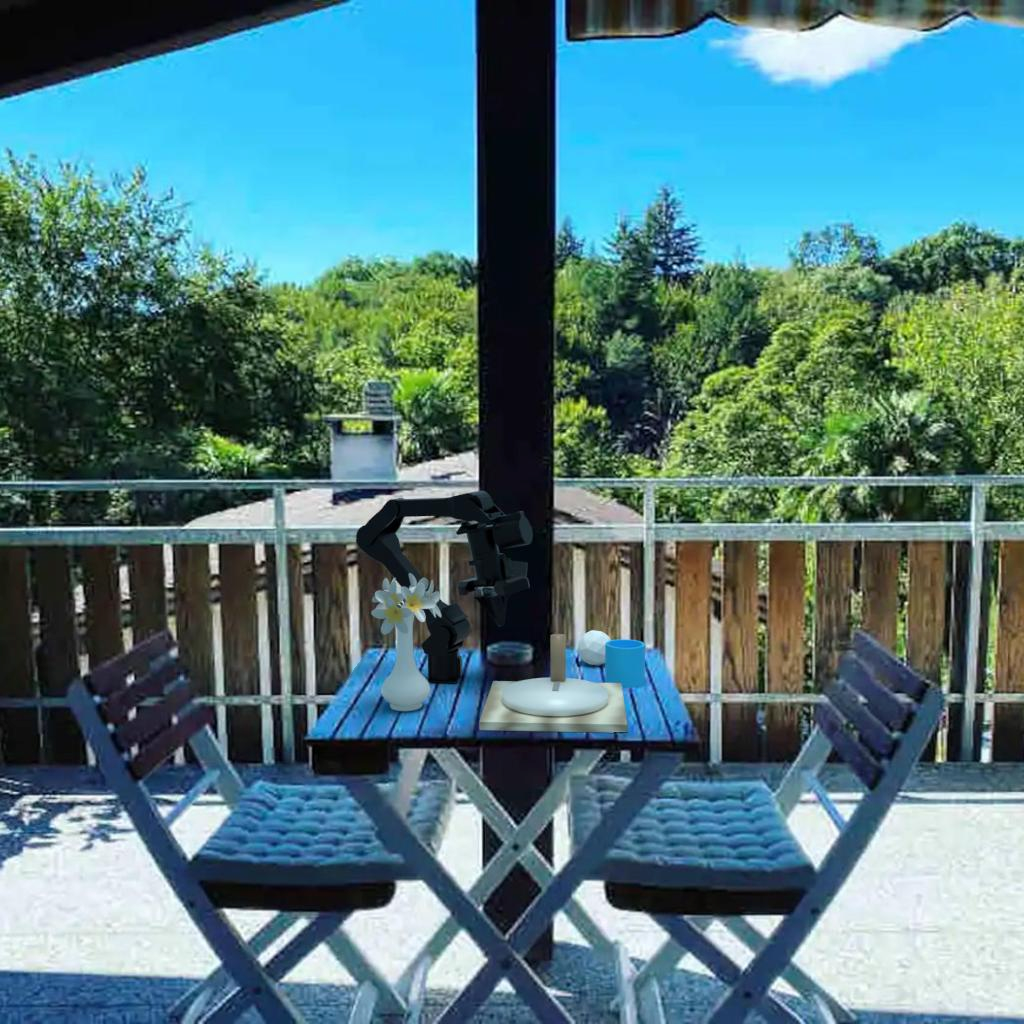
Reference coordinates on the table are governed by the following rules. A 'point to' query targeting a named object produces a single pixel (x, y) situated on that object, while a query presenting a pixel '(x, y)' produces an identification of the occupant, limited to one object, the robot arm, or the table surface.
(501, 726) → the dial board
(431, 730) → the table surface
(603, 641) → the ball
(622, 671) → the mug
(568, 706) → the dial
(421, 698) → the flower vase
